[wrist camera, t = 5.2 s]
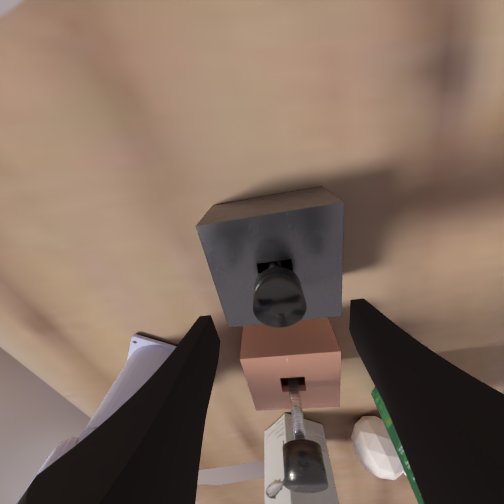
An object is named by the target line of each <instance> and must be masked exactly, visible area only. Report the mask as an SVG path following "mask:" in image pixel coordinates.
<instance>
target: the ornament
mask: <svg viewBox="0 0 504 504" xmlns="http://www.w3.org/2000/svg"><path fill="white" fill-rule="evenodd" d="M351 438H352V442H353V447H354V451H355V454H356V455H357V457H358V458H359V460H360V461H361V463H362V464H363V466H364V467H365V469H367V470H368V471H370V472H371V473H373V474H374V475H376V476H378V477H379V478H384V479H391V480H396V479H397V478H398V477H399V476H400V475H401V474H402V473H404V474H405V475H406V473H405V471H404V469H403V466H402V464H401V462H400V459H399V457H398V455H397V452H396V450H395V448H394V446H393V443H392V441H391V439H390V436H389V434H388V432H387V430H386V427H385V425H384V422H383V420H382V419H380V418H378V417H376V416H362V417H361V418H360V419H359V420H358V421H357V422H356V423H355V425H354V429H353V432H352V436H351Z"/></svg>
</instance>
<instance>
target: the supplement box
mask: <svg viewBox="0 0 504 504" xmlns="http://www.w3.org/2000/svg"><path fill="white" fill-rule="evenodd" d="M304 425H305V431H306V438H307V440H311V441H314V442H317V443H318V444H319V445H320V446H321V450H322V455H323V460H324V465H325V470H326V475H327V480H328V485H329V486H328V488H327V489H326V490H324V491H321V492H317V493H299V492H294V491H291V490H289V489H287V488H286V487H285V480H284V465H283V450H282V447H283V445H284V444H285V443H287V442H289V441H292V440H294V433H293V424H292V415H291V414H287V413H284V415H283V416H282V417H281V418H280V419H279V420H278V421H276V422H275V423H274V424H273V425H272V426H271V427H270V428H268V429H267V430H266V431H265V504H339V501H338V496H337V491H336V487H335V482H334V477H333V472H332V468H331V463H330V458H329V453H328V449H327V444H326V439H325V434H324V430H323V425H322V424H320V423H316V422H313V421H310V420H307V419H304Z"/></svg>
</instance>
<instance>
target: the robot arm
mask: <svg viewBox="0 0 504 504" xmlns="http://www.w3.org/2000/svg"><path fill="white" fill-rule="evenodd" d="M349 330H350V333H351V335H352V338H353V341H354V344H355V346H356V349H357V351H358V353H359V355H360V357H361V359H362V361H363V363H364V365H365V367H366V369H367V371H368V373H369V375H370V377H371V379H372V381H373V382H374V384H375V386H376V388H377V390H378V392H379V394H380V396H381V398H382V400H383V402H384V404H385V406H386V409H387V411H388V413H389V415H390V418H391V420H392V423H393V425H394V428H395V430H396V432H397V435H398V437H399V440H400V442H401V445H402V447H403V450H404V452H405V455H406V457H407V460H408V462H409V465H410V467H411V470H412V473H413V475H414V478H415V481H416V483H417V486H418V489H419V491H420V494H421V496H422V499H423V502H424V504H504V394H502V393H501V392H499V391H497V390H495V389H493V388H492V387H490V386H488V385H486V384H485V383H483V382H481V381H479V380H478V379H476V378H474V377H472V376H471V375H469V374H467V373H466V372H464V371H463V370H461V369H459V368H458V367H456V366H455V365H453V364H451V363H450V362H448V361H447V360H445V359H443V358H442V357H440V356H439V355H437V354H436V353H434V352H433V351H431V350H430V349H428V348H427V347H426V346H424V345H423V344H421V343H420V342H418V341H417V340H416V339H414V338H413V337H412V336H410V335H409V334H408V333H406V332H405V331H404V330H402V329H401V328H400V327H398V326H397V325H396V324H395V323H393V322H392V321H391V320H389V319H388V318H387V317H386V316H385V315H383V314H382V313H381V312H380V311H378V310H377V309H376V308H375V307H373V306H372V305H371V304H370V303H369V302H367V301H366V300H365V299H356V300H351V305H350V325H349ZM219 349H220V339H219V337H218V334H217V331H216V328H215V326H214V323H213V320H212V318H211V315H208V316H200V317H199V318H198V319H197V321H196V322H195V323H194V325H193V326H192V327H191V329H190V330H189V331H188V333H187V334H186V335H185V336H184V338H183V339H182V340H181V342H180V343H179V344H178V345H177V346H174V345H171V344H168V343H164V342H161V341H158V340H154V339H151V338H148V337H144V336H141V335H137V334H134V335H133V336H132V338H131V343H130V348H129V353H128V358H127V362H126V364H125V366H124V367H123V369H122V370H121V372H120V374H119V375H118V377H117V378H116V380H115V382H114V383H113V385H112V386H111V388H110V390H109V391H108V393H107V395H106V396H105V398H104V399H103V401H102V403H101V404H100V406H99V407H98V409H97V411H96V412H95V414H94V415H93V417H92V419H91V420H90V422H89V423H88V425H87V427H86V428H85V430H84V431H83V433H82V434H81V435H80V436H79V437H78V438H77V437H74V436H70V437H69V438H68V439H67V440H64V441H62V442H60V443H59V444H58V445H57V446H56V447H55V449H54V450H53V451H52V453H51V454H50V455H49V457H48V458H47V460H46V461H45V463H44V464H43V465H42V467H41V468H40V470H39V471H38V472H37V474H36V475H35V477H34V478H33V479H32V481H31V483H30V484H29V485H28V487H27V488H26V490H25V491H24V492H23V494H22V495H21V497H20V498H19V500H18V501H17V503H16V504H195V500H196V490H197V480H198V471H199V463H200V455H201V447H202V440H203V432H204V425H205V419H206V413H207V408H208V404H209V400H210V395H211V391H212V386H213V382H214V378H215V373H216V369H217V364H218V358H219Z"/></svg>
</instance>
